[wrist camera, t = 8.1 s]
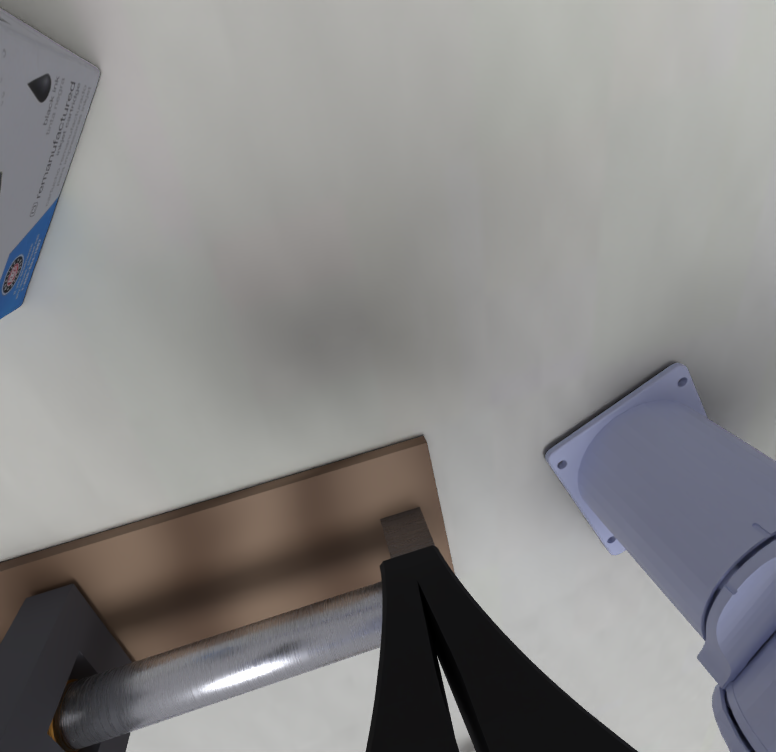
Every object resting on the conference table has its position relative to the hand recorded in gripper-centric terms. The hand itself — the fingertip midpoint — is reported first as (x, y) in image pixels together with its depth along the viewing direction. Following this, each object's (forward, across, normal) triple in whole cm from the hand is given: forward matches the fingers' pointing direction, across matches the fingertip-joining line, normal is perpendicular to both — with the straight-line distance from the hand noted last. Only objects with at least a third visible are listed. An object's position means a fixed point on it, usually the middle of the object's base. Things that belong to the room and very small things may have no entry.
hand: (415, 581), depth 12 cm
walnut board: (+10, +10, +8) cm, 16 cm away
